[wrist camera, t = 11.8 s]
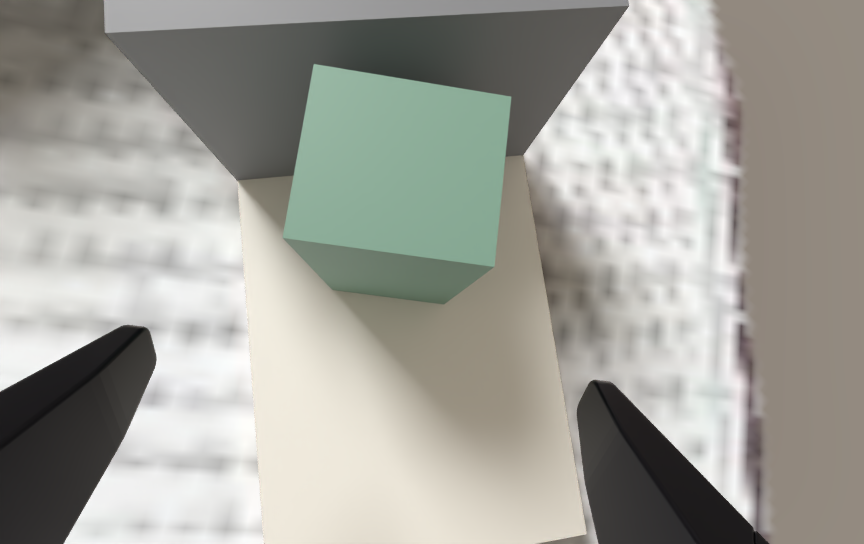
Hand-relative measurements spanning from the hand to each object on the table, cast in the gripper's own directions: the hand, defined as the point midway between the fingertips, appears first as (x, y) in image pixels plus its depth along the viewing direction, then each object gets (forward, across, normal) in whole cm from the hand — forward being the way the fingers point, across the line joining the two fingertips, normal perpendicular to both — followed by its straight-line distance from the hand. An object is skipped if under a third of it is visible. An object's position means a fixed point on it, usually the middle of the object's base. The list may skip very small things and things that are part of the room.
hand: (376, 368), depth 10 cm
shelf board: (+8, -1, +6) cm, 10 cm away
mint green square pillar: (+9, 0, +3) cm, 10 cm away
